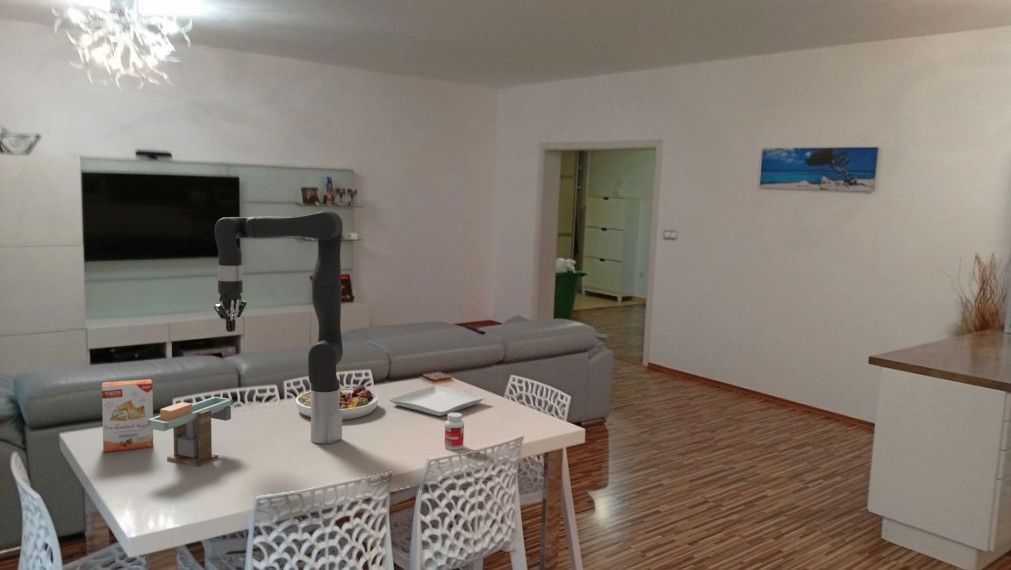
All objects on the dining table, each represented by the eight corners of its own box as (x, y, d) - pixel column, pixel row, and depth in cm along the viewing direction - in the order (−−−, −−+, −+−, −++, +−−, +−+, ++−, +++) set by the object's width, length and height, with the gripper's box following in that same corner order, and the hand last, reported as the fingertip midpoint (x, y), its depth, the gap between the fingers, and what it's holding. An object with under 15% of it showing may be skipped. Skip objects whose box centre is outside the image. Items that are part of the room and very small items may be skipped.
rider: (192, 416, 218) (192, 403, 217) (170, 424, 210) (170, 411, 210) (182, 415, 219) (181, 402, 219) (160, 422, 212) (159, 409, 211)
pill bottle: (441, 448, 239) (441, 415, 237) (449, 443, 244) (450, 410, 243) (458, 451, 236) (459, 418, 235) (466, 446, 242) (467, 413, 241)
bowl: (337, 428, 257) (337, 406, 256) (278, 412, 272) (278, 392, 271) (394, 409, 282) (394, 389, 281) (337, 396, 298) (337, 377, 297)
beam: (233, 441, 233) (232, 399, 231) (167, 469, 209) (166, 423, 207) (216, 437, 235) (214, 396, 233) (149, 465, 211) (147, 419, 209)
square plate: (434, 393, 307) (434, 384, 307) (486, 405, 291) (486, 396, 291) (388, 406, 285) (388, 397, 285) (441, 421, 269) (441, 410, 269)
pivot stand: (218, 458, 223) (217, 408, 222) (198, 466, 216) (197, 415, 214) (187, 452, 228) (187, 403, 226) (167, 460, 220) (166, 409, 219)
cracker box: (103, 453, 224) (101, 386, 222) (103, 447, 230) (101, 381, 227) (154, 447, 231) (152, 382, 228) (153, 441, 236) (151, 378, 234)
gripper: (224, 281, 232) (225, 335, 234) (253, 277, 244) (253, 329, 246) (206, 279, 235) (206, 333, 237) (235, 276, 247) (236, 327, 249)
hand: (230, 331), depth 241 cm, fingers closed
